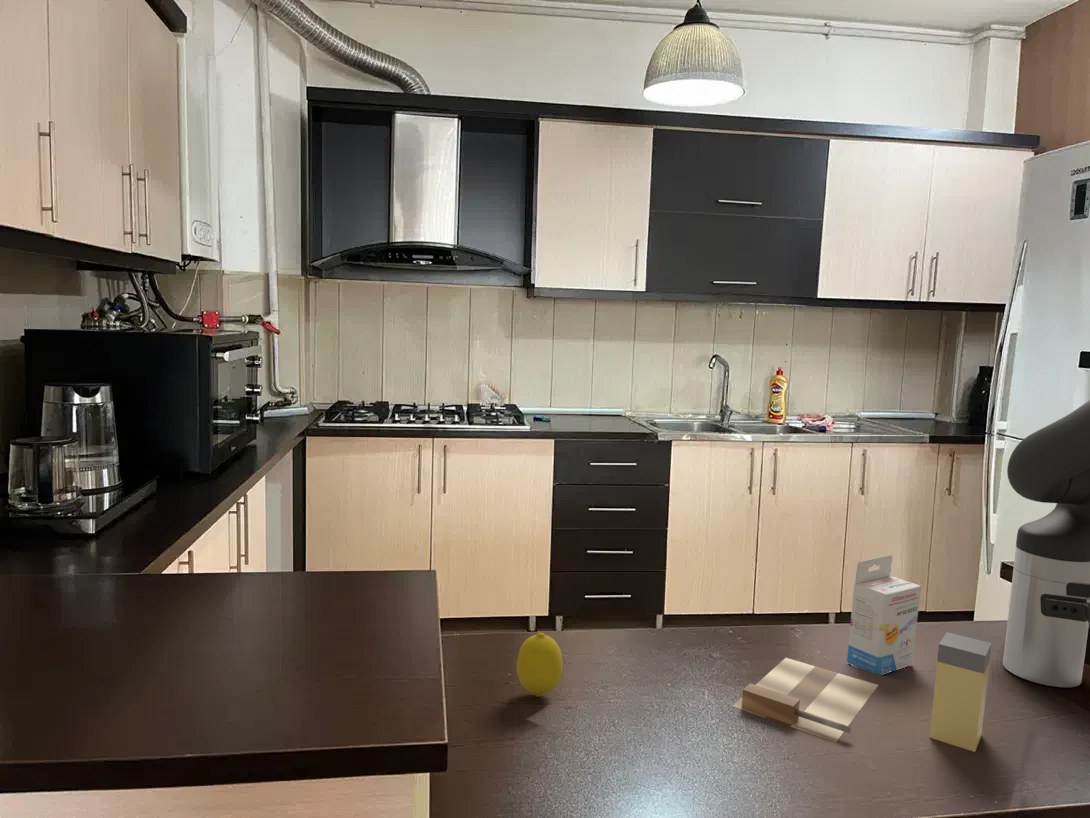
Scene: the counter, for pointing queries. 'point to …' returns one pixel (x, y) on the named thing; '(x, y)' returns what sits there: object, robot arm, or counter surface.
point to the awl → (781, 707)
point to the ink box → (882, 618)
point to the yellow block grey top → (960, 691)
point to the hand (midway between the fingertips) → (1054, 597)
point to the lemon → (539, 664)
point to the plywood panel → (817, 695)
